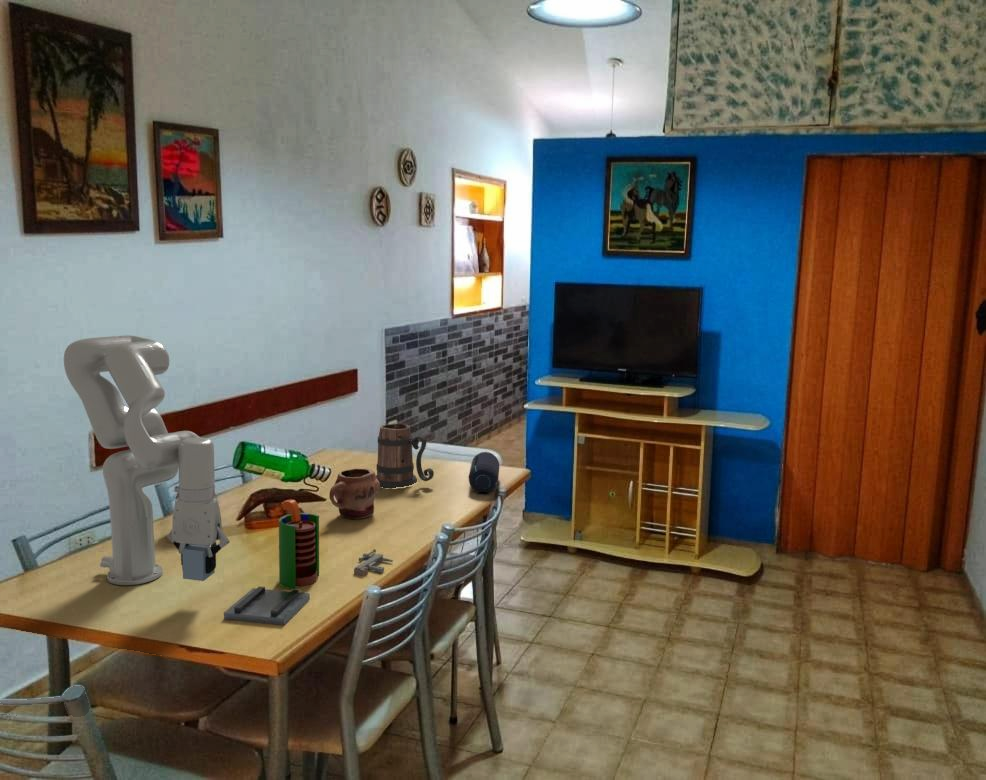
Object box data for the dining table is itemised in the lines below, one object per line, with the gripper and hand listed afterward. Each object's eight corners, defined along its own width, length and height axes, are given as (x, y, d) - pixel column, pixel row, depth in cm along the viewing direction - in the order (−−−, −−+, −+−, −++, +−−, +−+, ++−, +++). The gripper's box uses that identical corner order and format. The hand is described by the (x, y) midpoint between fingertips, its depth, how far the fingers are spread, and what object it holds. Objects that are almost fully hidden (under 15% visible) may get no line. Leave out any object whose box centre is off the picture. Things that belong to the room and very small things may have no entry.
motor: (307, 590, 202) (305, 509, 199) (272, 587, 204) (269, 506, 201) (323, 574, 212) (322, 497, 209) (290, 571, 214) (288, 494, 211)
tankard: (361, 484, 293) (360, 427, 290) (388, 473, 308) (388, 419, 305) (419, 494, 283) (419, 435, 280) (444, 482, 298) (445, 426, 295)
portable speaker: (471, 476, 307) (471, 449, 305) (499, 476, 307) (499, 449, 305) (467, 495, 282) (468, 466, 281) (497, 496, 282) (498, 467, 280)
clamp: (373, 571, 210) (340, 564, 214) (373, 580, 211) (340, 573, 215) (405, 552, 224) (372, 546, 228) (405, 560, 224) (372, 554, 228)
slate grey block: (182, 578, 192) (182, 549, 191) (198, 567, 198) (197, 539, 197) (203, 581, 191) (202, 551, 190) (218, 570, 197) (217, 541, 196)
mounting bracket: (224, 619, 186) (223, 608, 186) (253, 594, 200) (252, 584, 199) (284, 625, 184) (283, 614, 183) (309, 599, 197) (309, 589, 197)
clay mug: (349, 529, 247) (349, 482, 245) (316, 522, 252) (315, 476, 250) (389, 511, 264) (389, 467, 262) (357, 505, 270) (357, 462, 268)
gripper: (152, 494, 188) (155, 572, 192) (224, 501, 185) (225, 580, 189) (171, 485, 195) (173, 560, 199) (240, 492, 193) (241, 568, 196)
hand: (198, 569), depth 194 cm, fingers closed on slate grey block, 5 cm apart
